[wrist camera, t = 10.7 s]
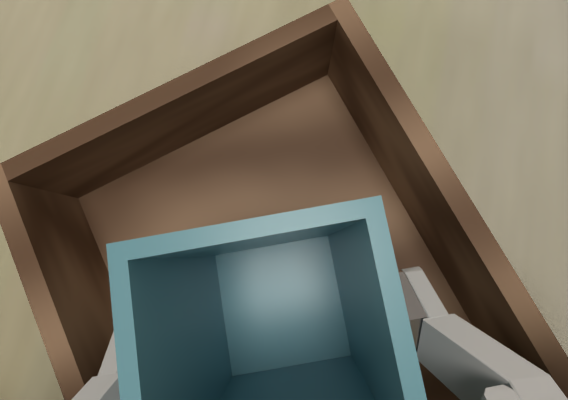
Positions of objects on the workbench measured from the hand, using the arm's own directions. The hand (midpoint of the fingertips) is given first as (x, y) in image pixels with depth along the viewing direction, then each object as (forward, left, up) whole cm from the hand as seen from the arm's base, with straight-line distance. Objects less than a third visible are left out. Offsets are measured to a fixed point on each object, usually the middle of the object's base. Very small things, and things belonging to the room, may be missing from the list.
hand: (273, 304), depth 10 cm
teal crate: (-1, 0, -4) cm, 4 cm away
